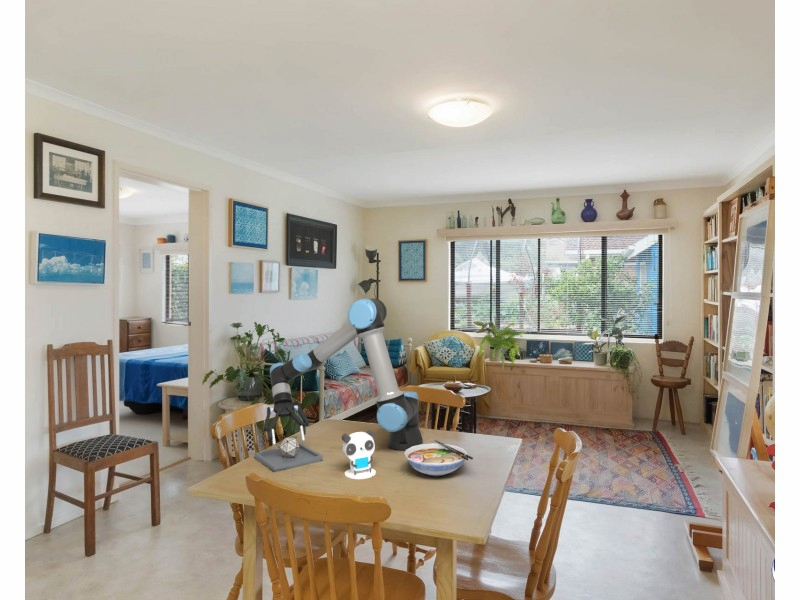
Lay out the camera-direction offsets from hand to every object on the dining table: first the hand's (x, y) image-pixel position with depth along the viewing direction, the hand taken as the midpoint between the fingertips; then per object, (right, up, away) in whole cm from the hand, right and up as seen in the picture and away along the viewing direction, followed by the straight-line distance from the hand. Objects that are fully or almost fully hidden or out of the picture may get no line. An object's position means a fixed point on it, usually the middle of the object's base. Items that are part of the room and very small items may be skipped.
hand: (288, 443), depth 197 cm
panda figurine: (+29, -7, -14) cm, 33 cm away
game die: (0, -6, +3) cm, 7 cm away
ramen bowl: (+56, -7, -14) cm, 59 cm away
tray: (-1, -7, +3) cm, 8 cm away
